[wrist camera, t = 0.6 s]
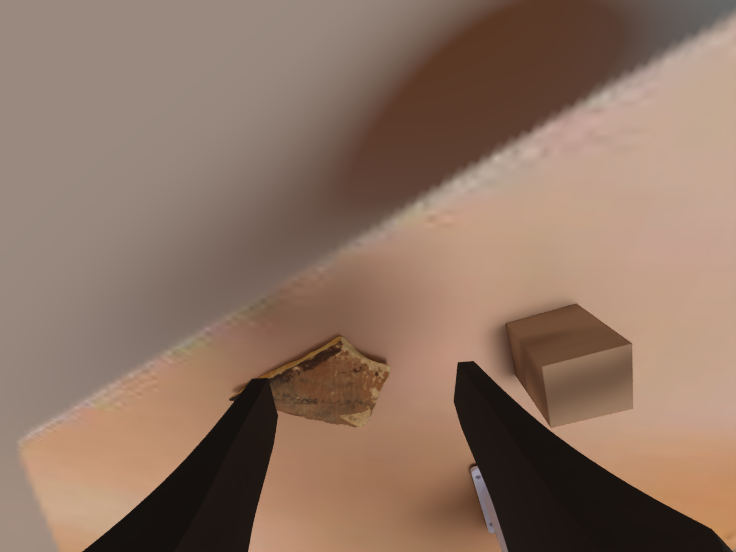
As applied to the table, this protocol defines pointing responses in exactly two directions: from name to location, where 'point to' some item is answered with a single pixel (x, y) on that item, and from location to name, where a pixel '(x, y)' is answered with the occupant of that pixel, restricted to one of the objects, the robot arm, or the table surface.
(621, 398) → the walnut cube
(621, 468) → the table surface
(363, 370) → the shard
